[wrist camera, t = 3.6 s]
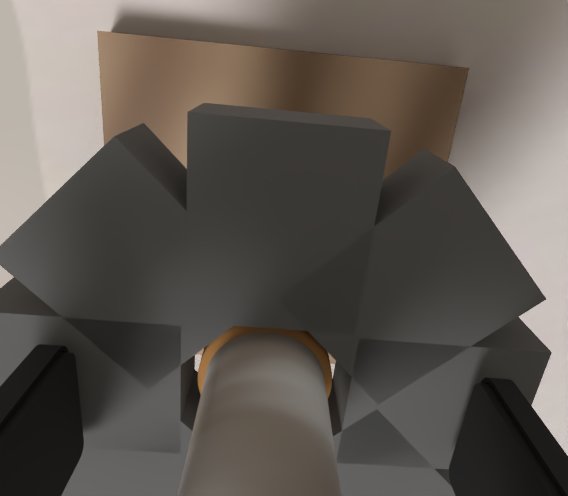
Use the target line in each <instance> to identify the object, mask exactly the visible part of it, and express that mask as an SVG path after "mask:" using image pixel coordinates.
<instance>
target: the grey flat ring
mask: <svg viewBox="0 0 568 496" xmlns="http://www.w3.org/2000/svg"><path fill="white" fill-rule="evenodd" d="M390 136H391V130H389V129H388V128H386V127H384V126H383V125H381V124H379V123H378V122H376V121H374V120H373V119H371V118H361V117H351V116H340V115H329V114H319V113H308V112H298V111H287V110H276V109H266V108H255V107H244V106H234V105H223V104H213V103H203V104H201V105H199V106H197V107H195V108H194V109H192V110H190V111H188V112H187V169H186V168H185V167H184V165H183V164H182V163H181V162H180V161H179V160H178V159H177V158H176V157H175V156H174V155H173V154H172V153H171V151H170V150H169V149H168V148H167V147H166V146H165V145H164V144H163V143H162V142H161V141H160V140H159V138H158V137H157V136H156V135H155V134H154V133H153V132H152V131H151V130H150V129H149V128H148V127H147V126H146V124H145V123H142V124H140V125H138V126H136V127H133V128H131V129H129V130H127V131H125V132H122V133H120V134H118V135H116V136H114V137H113V138H112V139H111V140H110V141H109V142H108V143H107V144H106V145H105V146H104V147H103V148H101V149H100V150H99V151H98V152H97V153H96V154H95V155H94V156H93V157H92V158H91V159H90V160H89V161H88V162H87V163H86V164H85V165H84V166H83V167H82V168H81V169H80V170H79V171H78V172H77V173H75V174H74V175H73V176H72V177H71V178H70V179H69V180H68V181H67V182H66V183H65V184H64V185H63V186H62V187H61V188H60V189H59V190H58V191H57V192H56V193H55V194H54V195H53V196H52V197H51V198H49V199H48V200H47V201H46V202H45V203H44V204H43V205H42V206H41V207H40V208H39V209H38V210H37V211H36V212H35V213H34V214H33V215H32V216H31V217H30V218H29V219H28V220H27V221H26V222H25V223H24V224H22V226H20V227H19V228H18V229H17V230H16V231H15V232H14V233H13V234H12V235H11V236H10V237H9V238H8V239H7V240H6V241H5V242H4V243H3V244H2V245H1V246H0V265H1V266H2V267H3V268H4V269H5V270H7V271H8V272H9V273H10V274H11V275H13V276H14V278H13V279H11V280H10V281H9V282H8V283H6V284H5V285H4V286H3V287H2V288H0V386H1V385H2V384H3V383H4V382H5V381H6V379H7V378H8V377H9V376H10V375H11V374H12V373H13V371H14V370H15V369H16V368H17V367H18V366H19V365H20V363H21V362H22V361H23V360H24V359H25V358H26V357H27V355H28V354H29V353H30V352H31V351H32V350H33V349H34V347H36V346H37V345H39V344H47V345H60V346H66V347H67V349H68V352H69V353H73V354H74V355H75V358H76V368H77V378H78V388H79V398H80V408H81V418H82V428H83V438H84V447H83V452H82V455H81V458H80V460H79V462H78V464H77V466H76V468H75V470H74V472H73V474H72V476H71V478H70V480H69V481H68V483H67V485H66V487H65V489H64V491H63V493H62V495H61V496H177V495H178V491H179V487H180V482H181V478H182V474H183V470H184V465H185V461H186V457H187V452H188V448H189V444H190V440H191V435H192V431H193V427H194V422H195V418H196V414H197V409H198V405H199V401H200V397H201V394H200V392H199V387H198V372H197V371H196V370H195V369H194V367H195V354H197V353H198V352H199V351H201V350H202V349H203V348H205V347H206V346H207V345H209V344H210V343H211V342H213V341H214V340H215V339H217V338H218V337H219V336H221V335H222V334H223V333H225V332H226V331H227V330H229V329H230V328H232V327H233V326H244V327H258V328H272V329H286V330H300V331H308V332H309V333H310V334H311V335H312V336H313V337H314V338H315V339H316V340H317V341H318V342H319V343H320V344H321V345H322V346H323V347H324V349H325V350H326V351H327V352H328V353H329V354H330V355H331V356H332V357H333V358H334V359H335V360H336V363H335V369H334V375H333V379H332V387H331V391H330V395H329V397H328V399H327V400H328V407H329V414H330V421H331V427H332V434H333V441H334V448H335V455H336V462H337V469H338V476H339V483H340V490H341V496H455V493H454V491H453V488H452V486H451V483H450V479H449V465H450V462H451V459H452V455H453V452H454V449H455V446H456V443H457V439H458V436H459V433H460V430H461V426H462V423H463V420H464V417H465V414H466V410H467V407H468V404H469V401H470V397H471V394H472V391H473V388H474V386H475V384H476V383H481V381H482V380H483V379H484V378H486V377H488V378H502V379H510V380H512V381H513V382H514V383H515V384H516V386H517V387H518V388H519V390H520V391H521V393H522V394H523V395H524V397H525V398H526V399H527V401H528V402H529V404H530V405H532V402H533V400H534V397H535V394H536V392H537V389H538V387H539V384H540V381H541V379H542V376H543V373H544V371H545V368H546V366H547V363H548V360H549V358H550V355H551V351H550V350H549V349H548V348H547V347H546V346H545V345H544V344H543V343H542V342H541V341H540V340H539V339H538V337H537V336H536V335H535V334H534V333H533V332H532V331H531V330H530V329H529V328H528V327H527V326H526V325H525V324H524V323H523V321H522V320H521V319H520V318H519V317H518V316H520V315H522V314H523V313H525V312H526V311H528V310H530V309H531V308H533V307H534V306H536V305H538V304H539V303H541V302H542V301H544V300H546V298H545V297H544V295H543V294H542V292H541V291H540V289H539V288H538V286H537V285H536V284H535V282H534V281H533V279H532V278H531V276H530V275H529V273H528V272H527V270H526V269H525V268H524V266H523V265H522V263H521V262H520V260H519V259H518V257H517V256H516V255H515V253H514V252H513V250H512V249H511V247H510V246H509V244H508V243H507V242H506V240H505V239H504V237H503V236H502V234H501V233H500V231H499V230H498V228H497V227H496V226H495V224H494V223H493V221H492V220H491V218H490V217H489V215H488V214H487V213H486V211H485V210H484V208H483V207H482V205H481V204H480V202H479V201H478V199H477V198H476V197H475V195H474V194H473V192H472V191H471V189H470V188H469V186H468V185H467V184H466V182H465V181H464V179H463V178H462V176H461V175H460V173H459V172H458V170H457V169H456V168H455V167H454V166H453V165H451V164H449V163H448V162H446V161H444V160H443V159H441V158H439V157H438V156H436V155H434V154H433V153H431V152H429V151H428V150H426V149H423V150H421V151H420V152H419V153H417V154H416V155H415V156H414V157H412V158H411V159H410V160H408V161H407V162H406V163H404V164H403V165H402V166H401V167H399V168H398V169H397V170H395V171H394V172H393V173H391V174H390V175H389V176H388V177H386V178H385V179H384V180H383V175H384V169H385V164H386V158H387V152H388V147H389V141H390Z"/></svg>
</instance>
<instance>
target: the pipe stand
mask: <svg viewBox="0 0 568 496" xmlns="http://www.w3.org/2000/svg"><path fill="white" fill-rule="evenodd" d="M97 33H98V49H99V66H100V83H101V100H102V116H103V133H104V146H105V145H106V144H107V143H108V142H109V141H110V140H111V139H112V138H113V137H114V136H116V135H118V134H120V133H122V132H125V131H127V130H129V129H131V128H133V127H136V126H138V125H140V124H142V123H145V124H146V126H147V127H148V128H149V129H150V130H151V131H152V132H153V133H154V134H155V135H156V136H157V137H158V138H159V140H160V141H161V142H162V143H163V144H164V145H165V146H166V147H167V148H168V149H169V150H170V151H171V153H172V154H173V155H174V156H175V157H176V158H177V159H178V160H179V161H180V162H181V163H182V164H183V165H184V167H185V168H186V169H187V112H188V111H190V110H192V109H194V108H195V107H197V106H199V105H201V104H203V103H213V104H223V105H234V106H244V107H255V108H266V109H276V110H287V111H298V112H308V113H319V114H329V115H340V116H351V117H361V118H371V119H373V120H374V121H376V122H378V123H379V124H381V125H383V126H384V127H386V128H388V129H389V130H391V136H390V141H389V147H388V152H387V158H386V164H385V169H384V175H383V180H384V179H385V178H386V177H388V176H389V175H390V174H391V173H393V172H394V171H395V170H397V169H398V168H399V167H401V166H402V165H403V164H404V163H406V162H407V161H408V160H410V159H411V158H412V157H414V156H415V155H416V154H417V153H419V152H420V151H421V150H423V149H426V150H428V151H429V152H431V153H433V154H434V155H436V156H438V157H439V158H441V159H443V160H444V161H446V162H448V157H449V153H450V149H451V144H452V140H453V136H454V131H455V127H456V122H457V118H458V114H459V109H460V105H461V101H462V96H463V92H464V88H465V83H466V79H467V75H468V70H469V68H463V67H453V66H443V65H433V64H423V63H413V62H403V61H393V60H383V59H373V58H363V57H353V56H343V55H333V54H323V53H313V52H303V51H293V50H283V49H273V48H263V47H253V46H243V45H234V44H224V43H214V42H204V41H194V40H184V39H174V38H164V37H154V36H144V35H134V34H124V33H114V32H104V31H97ZM197 354H201V355H202V358H201V362H200V366H199V370H198V387H199V392H200V394H201V397H200V401H199V405H198V409H197V414H196V418H195V422H194V427H193V431H192V435H191V440H190V444H189V448H188V452H187V457H186V461H185V465H184V470H183V474H182V478H181V482H180V487H179V491H178V495H177V496H341V490H340V483H339V476H338V469H337V462H336V455H335V448H334V441H333V434H332V427H331V421H330V414H329V407H328V400H327V399H328V397H329V395H330V391H331V387H332V372H331V366H330V363H331V364H335V363H336V360H335V359H334V358H333V357H332V356H331V355H330V354H329V353H328V352H327V351H326V350H325V349H324V347H323V346H322V345H321V344H320V343H319V342H318V341H317V340H316V339H315V338H314V337H313V336H312V335H311V334H310V333H309V332H308V331H300V330H286V329H272V328H258V327H244V326H233V327H232V328H230V329H229V330H227V331H226V332H225V333H223V334H222V335H221V336H219V337H218V338H217V339H215V340H214V341H213V342H211V343H210V344H209V345H207V346H206V347H205V348H203V349H202V350H201V351H199V352H198V353H197Z"/></svg>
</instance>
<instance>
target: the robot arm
mask: <svg viewBox="0 0 568 496" xmlns="http://www.w3.org/2000/svg"><path fill="white" fill-rule="evenodd" d="M83 447H84V438H83V428H82V418H81V408H80V398H79V388H78V378H77V368H76V358H75V355H74V354H73V353H69V352H68V349H67V347H66V346H60V345H47V344H39V345H37V346H36V347H34V349H33V350H32V351H31V352H30V353H29V354H28V355H27V357H26V358H25V359H24V360H23V361H22V362H21V363H20V365H19V366H18V367H17V368H16V369H15V370H14V371H13V373H12V374H11V375H10V376H9V377H8V378H7V379H6V381H5V382H4V383H3V384H2V385H1V386H0V496H61V495H62V493H63V491H64V489H65V487H66V485H67V483H68V481H69V480H70V478H71V476H72V474H73V472H74V470H75V468H76V466H77V464H78V462H79V460H80V458H81V455H82V452H83ZM449 479H450V483H451V486H452V488H453V491H454V493H455V496H568V456H567V455H566V453H565V452H564V450H563V449H562V448H561V446H560V445H559V444H558V442H557V441H556V439H555V438H554V437H553V435H552V434H551V433H550V431H549V430H548V428H547V427H546V426H545V424H544V423H543V421H542V420H541V419H540V417H539V416H538V415H537V413H536V412H535V410H534V409H533V408H532V406H531V405H530V404H529V402H528V401H527V399H526V398H525V397H524V395H523V394H522V393H521V391H520V390H519V388H518V387H517V386H516V384H515V383H514V382H513V381H512V380H510V379H502V378H488V377H486V378H484V379H483V380H482V381H481V383H476V384H475V386H474V388H473V391H472V394H471V397H470V401H469V404H468V407H467V410H466V414H465V417H464V420H463V423H462V426H461V430H460V433H459V436H458V439H457V443H456V446H455V449H454V452H453V455H452V459H451V462H450V465H449Z"/></svg>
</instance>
